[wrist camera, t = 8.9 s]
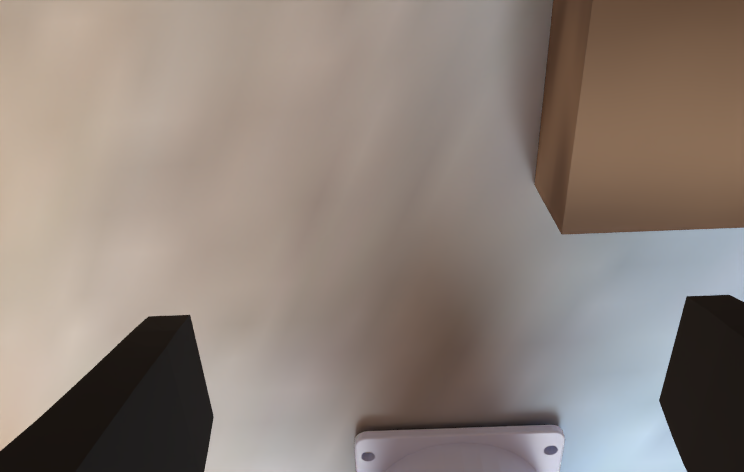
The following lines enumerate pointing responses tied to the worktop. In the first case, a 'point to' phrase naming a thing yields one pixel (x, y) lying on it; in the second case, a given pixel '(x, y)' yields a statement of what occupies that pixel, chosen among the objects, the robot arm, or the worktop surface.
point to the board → (643, 116)
